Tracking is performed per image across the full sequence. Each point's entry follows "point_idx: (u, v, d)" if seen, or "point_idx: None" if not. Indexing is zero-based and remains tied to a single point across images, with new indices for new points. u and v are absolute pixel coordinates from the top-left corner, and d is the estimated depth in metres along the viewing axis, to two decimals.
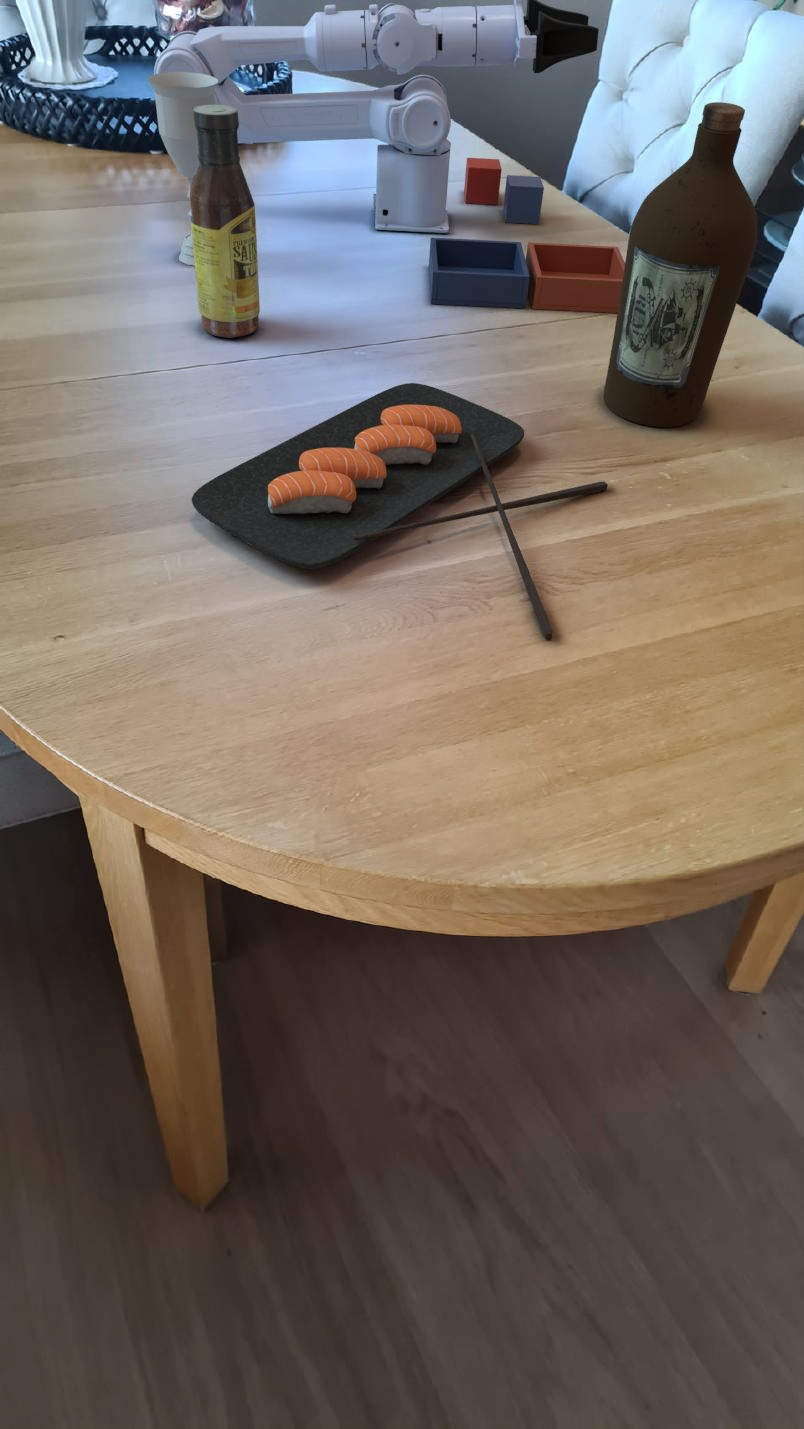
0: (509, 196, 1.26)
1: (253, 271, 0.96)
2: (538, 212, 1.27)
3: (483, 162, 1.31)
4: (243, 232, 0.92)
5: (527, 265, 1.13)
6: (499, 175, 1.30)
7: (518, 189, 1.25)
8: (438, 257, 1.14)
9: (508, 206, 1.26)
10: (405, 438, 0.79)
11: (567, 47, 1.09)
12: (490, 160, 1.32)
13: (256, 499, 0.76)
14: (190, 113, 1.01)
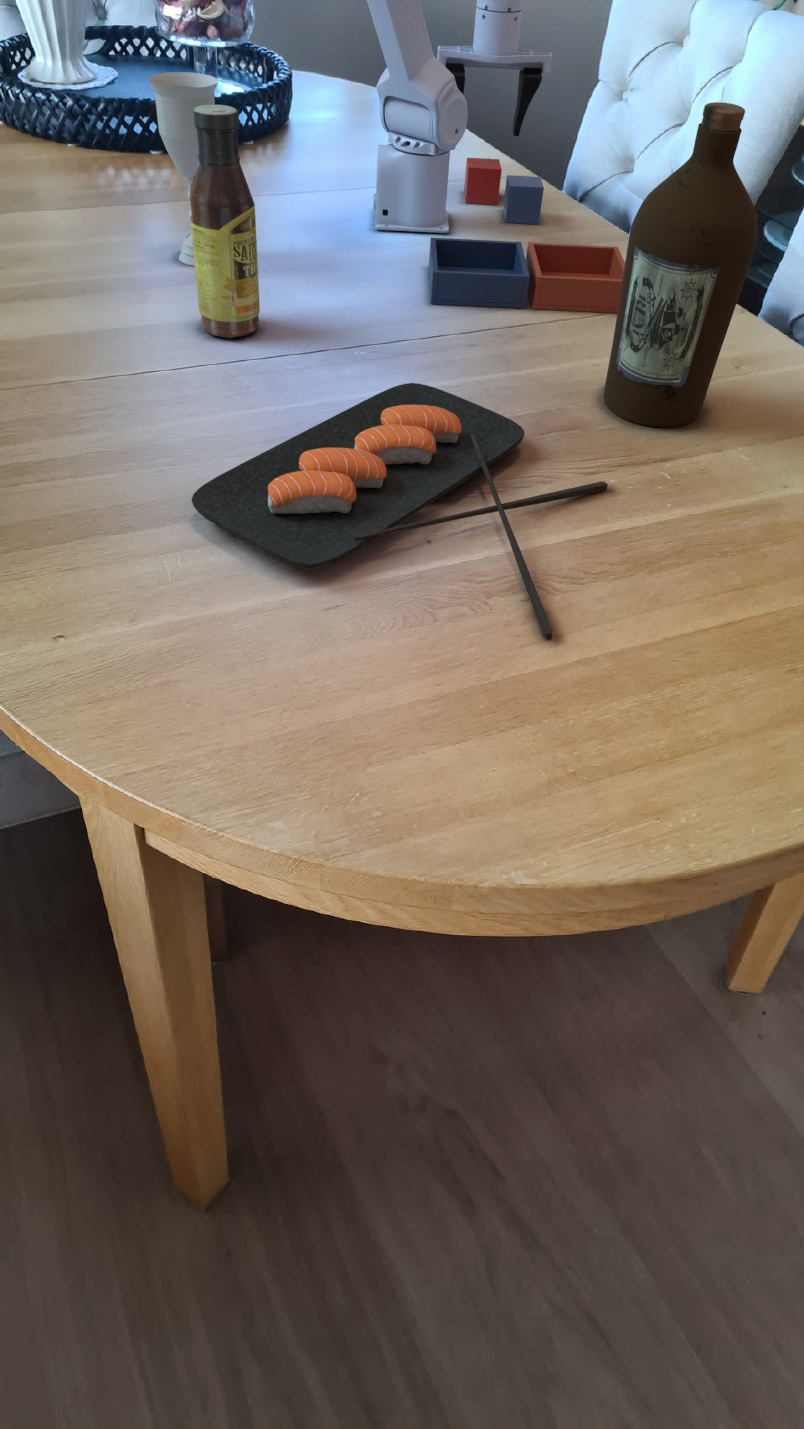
0: (509, 196, 1.26)
1: (253, 271, 0.96)
2: (538, 212, 1.27)
3: (483, 162, 1.31)
4: (243, 232, 0.92)
5: (527, 265, 1.13)
6: (499, 175, 1.30)
7: (518, 189, 1.25)
8: (438, 257, 1.14)
9: (508, 206, 1.26)
10: (405, 438, 0.79)
11: None
12: (490, 160, 1.32)
13: (256, 499, 0.76)
14: (190, 113, 1.01)
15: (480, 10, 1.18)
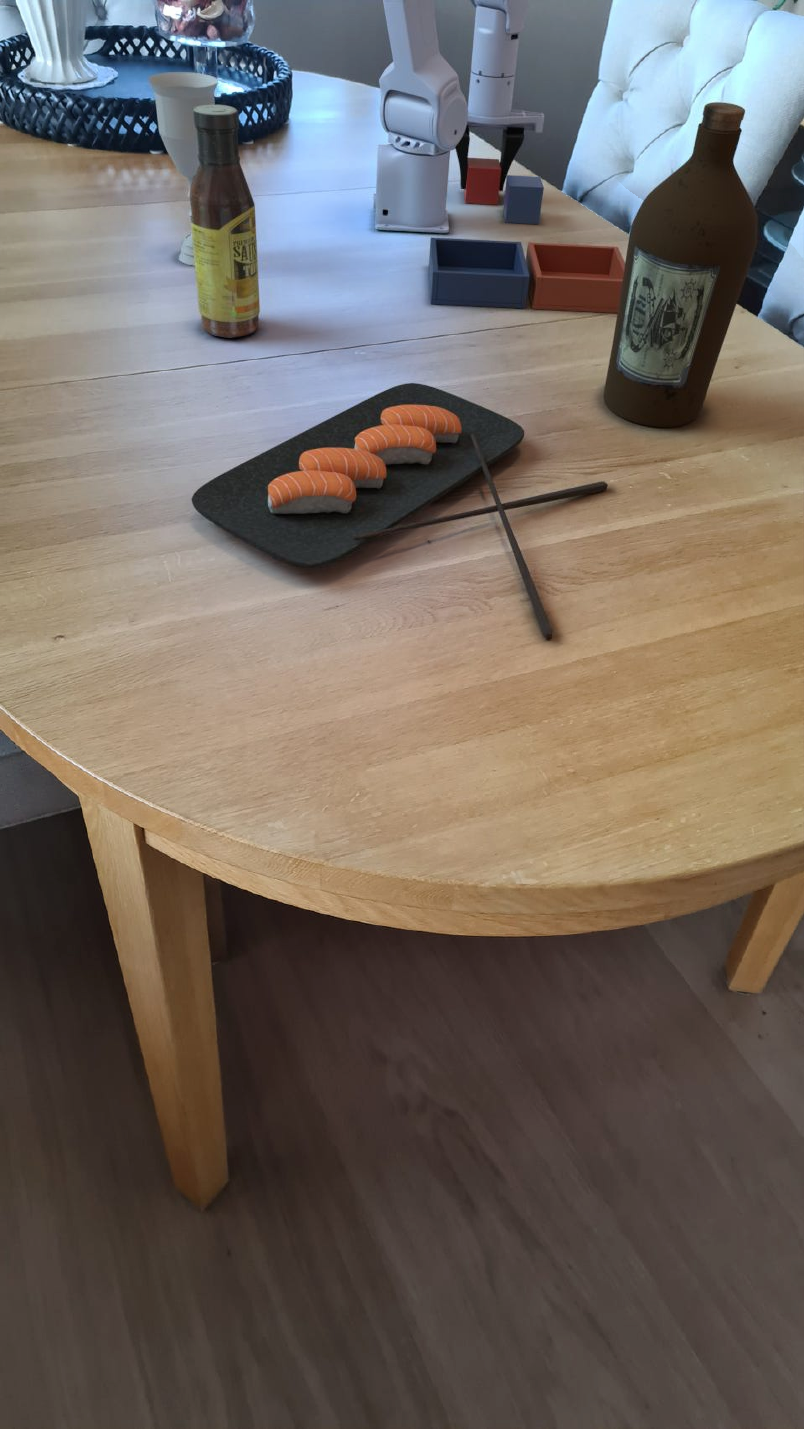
0: (509, 196, 1.26)
1: (253, 271, 0.96)
2: (538, 212, 1.27)
3: (482, 162, 1.31)
4: (243, 232, 0.92)
5: (527, 265, 1.13)
6: (499, 175, 1.30)
7: (518, 189, 1.25)
8: (438, 257, 1.14)
9: (508, 206, 1.26)
10: (405, 438, 0.79)
11: None
12: (490, 160, 1.32)
13: (256, 499, 0.76)
14: (190, 113, 1.01)
15: (474, 75, 1.23)
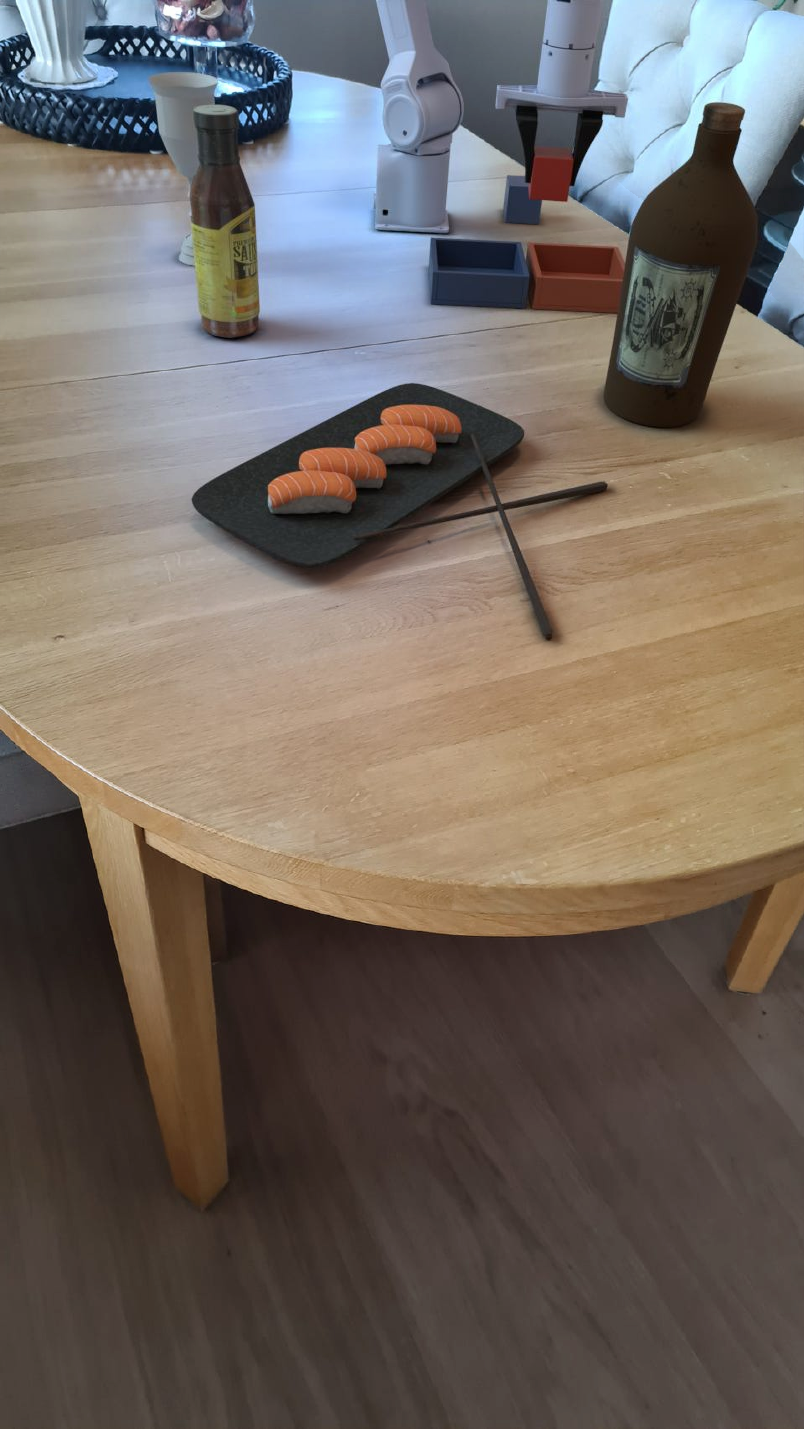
0: (509, 196, 1.26)
1: (253, 271, 0.96)
2: (538, 212, 1.27)
3: (552, 151, 1.12)
4: (243, 232, 0.92)
5: (527, 265, 1.13)
6: (570, 167, 1.10)
7: (518, 189, 1.25)
8: (438, 257, 1.14)
9: (508, 206, 1.26)
10: (405, 438, 0.79)
11: None
12: (561, 149, 1.12)
13: (256, 499, 0.76)
14: (190, 113, 1.01)
15: (547, 46, 1.03)
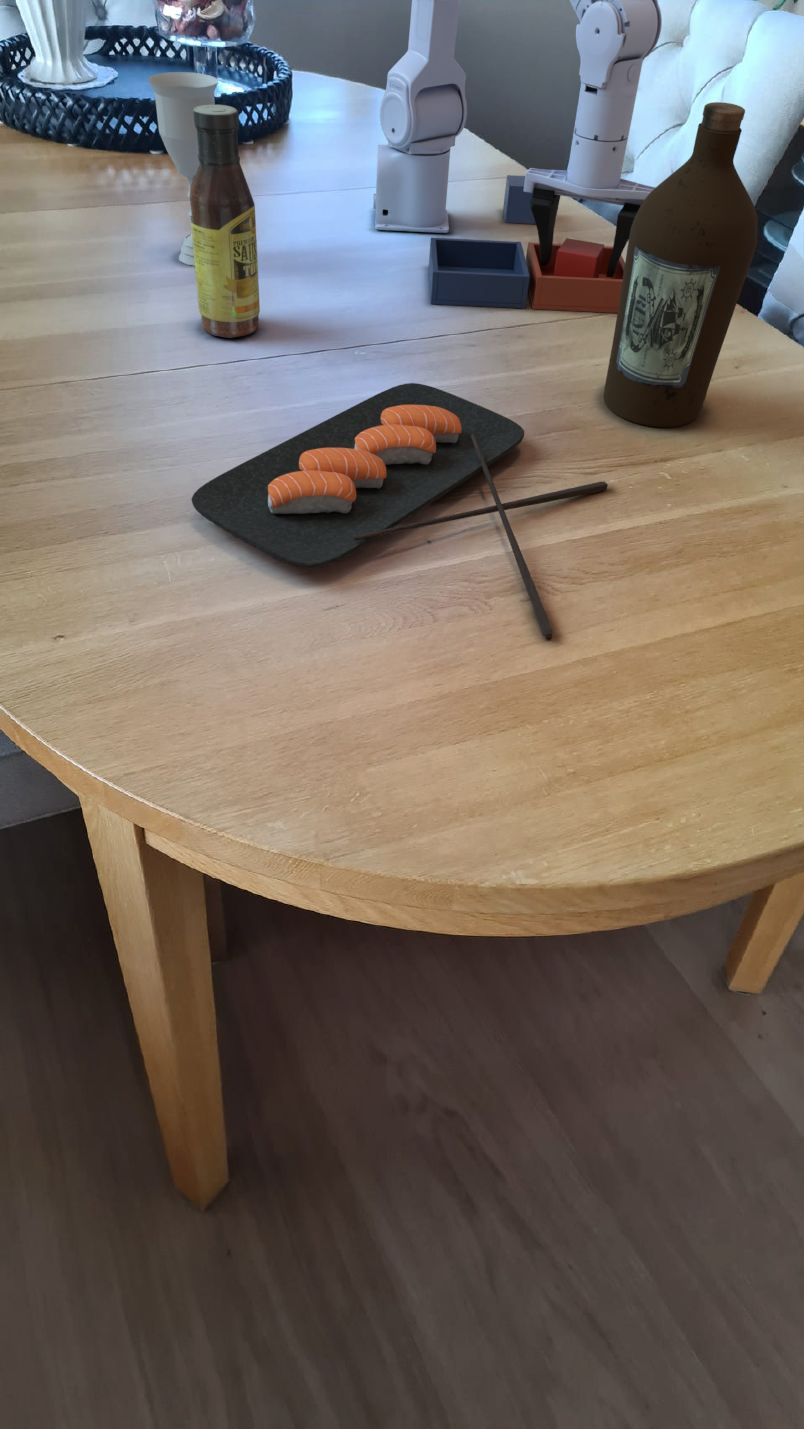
0: (509, 196, 1.26)
1: (253, 271, 0.96)
2: None
3: (581, 246, 1.09)
4: (243, 232, 0.92)
5: (527, 265, 1.13)
6: (593, 264, 1.07)
7: (518, 189, 1.25)
8: (438, 257, 1.14)
9: (508, 206, 1.26)
10: (405, 438, 0.79)
11: None
12: (592, 244, 1.09)
13: (256, 499, 0.76)
14: (190, 113, 1.01)
15: (575, 135, 1.00)
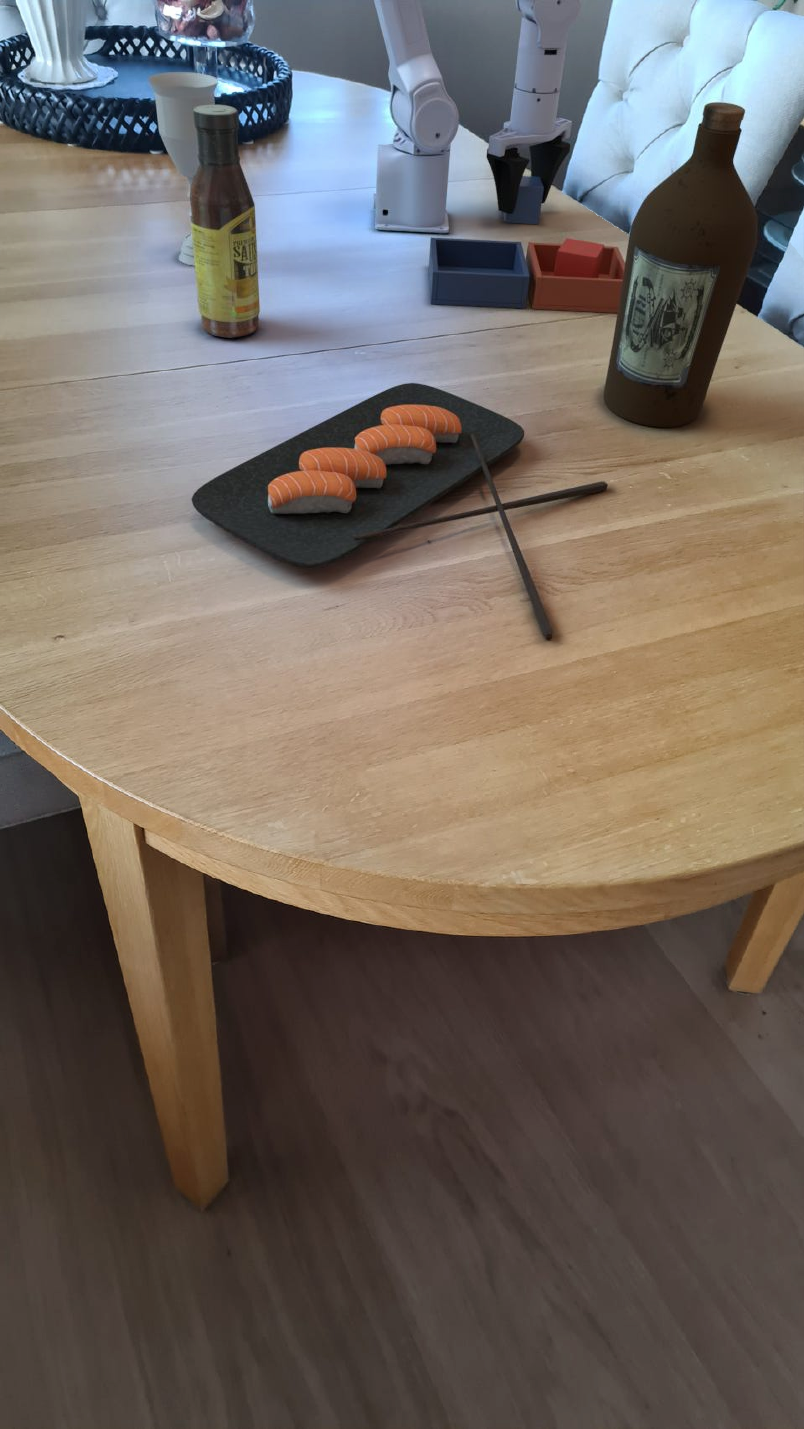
0: None
1: (253, 271, 0.96)
2: (538, 212, 1.27)
3: (581, 246, 1.09)
4: (243, 232, 0.92)
5: (527, 265, 1.13)
6: (593, 264, 1.07)
7: None
8: (438, 257, 1.14)
9: None
10: (405, 438, 0.79)
11: None
12: (592, 244, 1.09)
13: (256, 499, 0.76)
14: (190, 113, 1.01)
15: (534, 94, 1.17)
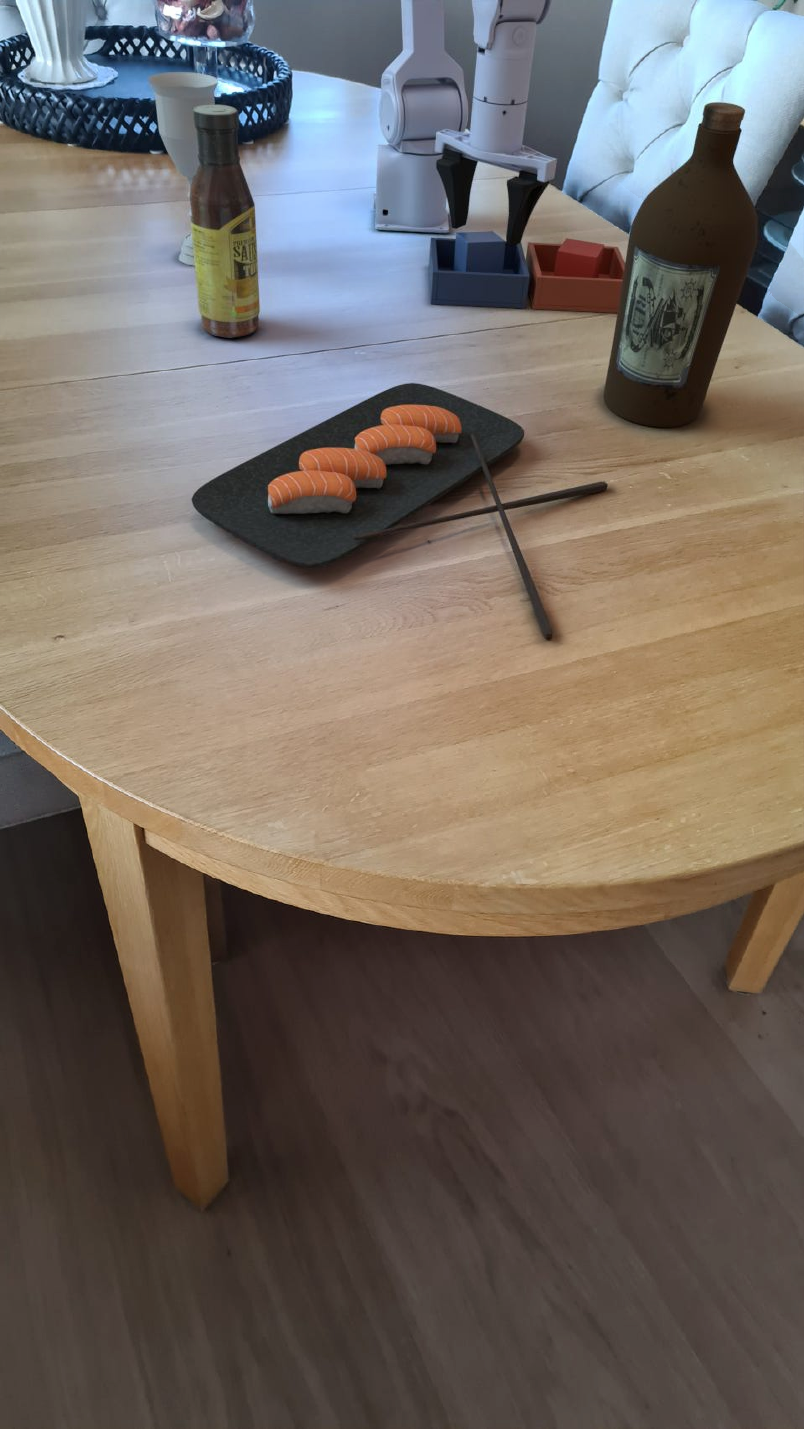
0: (455, 244, 1.11)
1: (253, 271, 0.96)
2: (464, 270, 1.09)
3: (581, 246, 1.09)
4: (243, 232, 0.92)
5: (527, 265, 1.13)
6: (593, 264, 1.07)
7: (458, 238, 1.09)
8: (438, 257, 1.14)
9: (455, 255, 1.12)
10: (405, 438, 0.79)
11: None
12: (592, 244, 1.09)
13: (256, 499, 0.76)
14: (190, 113, 1.01)
15: (473, 96, 1.01)
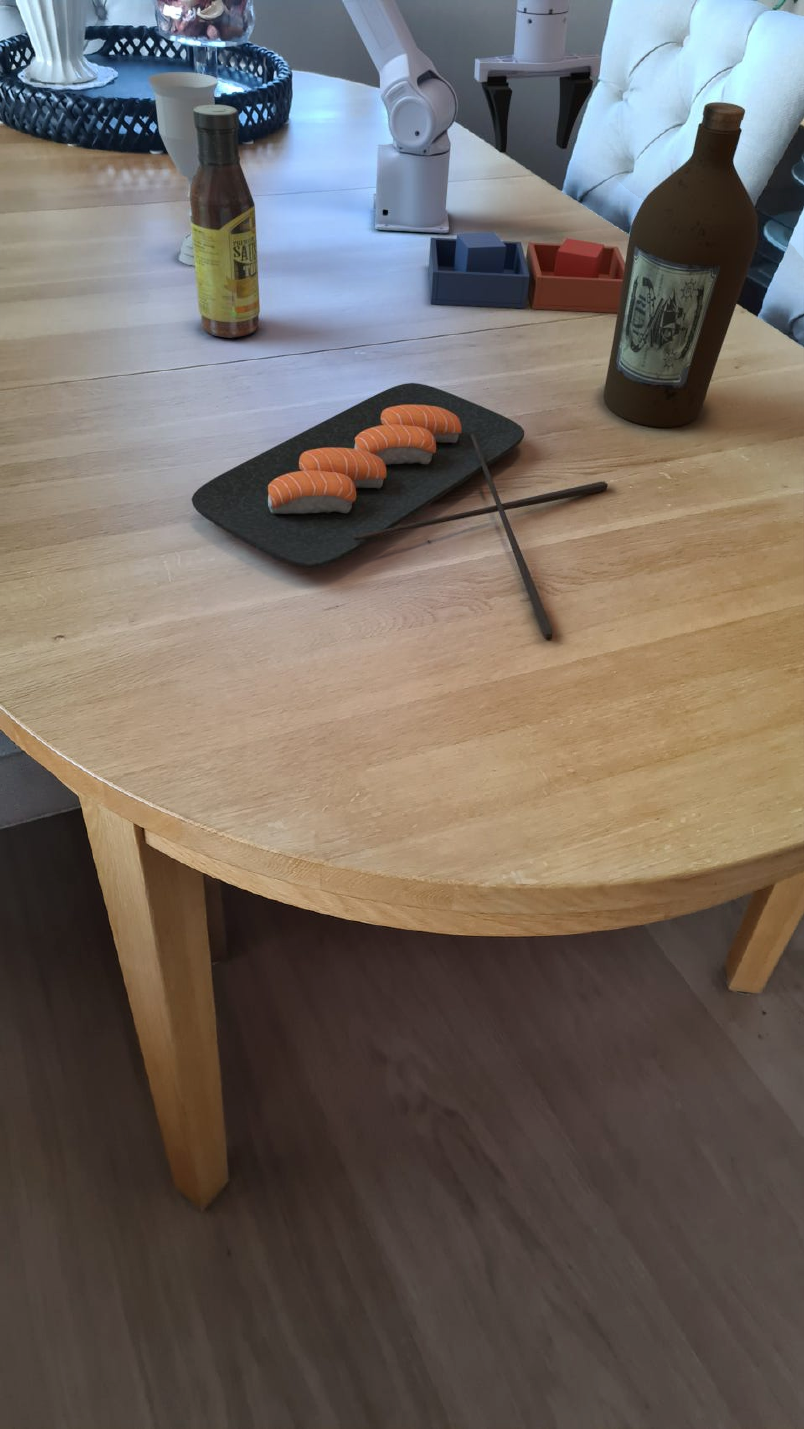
0: (456, 245, 1.11)
1: (253, 271, 0.96)
2: None
3: (581, 246, 1.09)
4: (243, 232, 0.92)
5: (527, 265, 1.13)
6: (593, 264, 1.07)
7: (459, 240, 1.09)
8: (438, 257, 1.14)
9: (455, 256, 1.11)
10: (405, 438, 0.79)
11: None
12: (592, 244, 1.09)
13: (256, 499, 0.76)
14: (190, 113, 1.01)
15: (525, 14, 1.05)
